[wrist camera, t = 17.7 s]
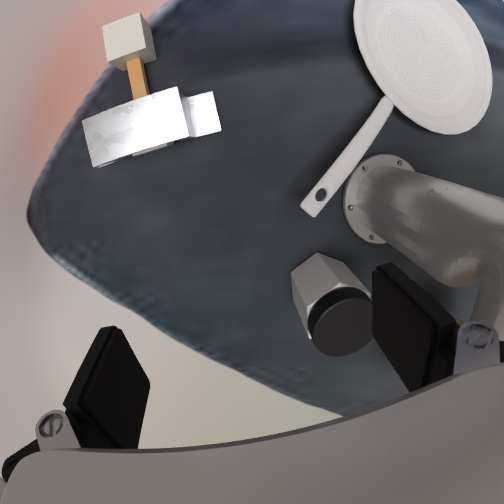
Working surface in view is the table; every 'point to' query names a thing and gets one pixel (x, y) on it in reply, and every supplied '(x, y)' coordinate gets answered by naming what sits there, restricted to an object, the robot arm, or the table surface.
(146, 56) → the block ended dumbbell
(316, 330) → the jar
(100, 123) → the block
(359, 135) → the pan
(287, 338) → the table surface
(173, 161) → the table surface
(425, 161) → the table surface
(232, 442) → the robot arm
